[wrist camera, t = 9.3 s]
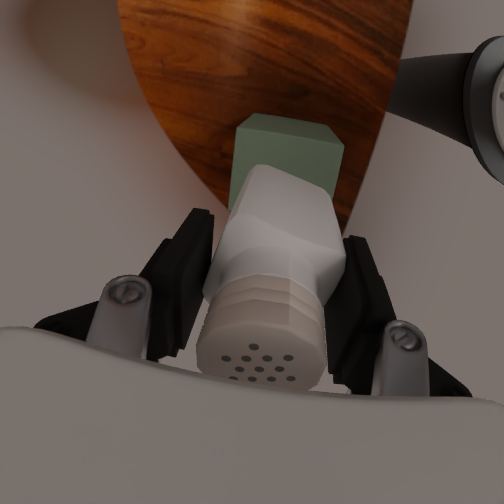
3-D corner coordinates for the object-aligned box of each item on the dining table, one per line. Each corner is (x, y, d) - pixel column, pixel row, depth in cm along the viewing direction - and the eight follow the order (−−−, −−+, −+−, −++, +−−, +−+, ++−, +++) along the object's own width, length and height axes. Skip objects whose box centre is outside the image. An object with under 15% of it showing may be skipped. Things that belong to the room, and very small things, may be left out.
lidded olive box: (327, 125, 26) (344, 145, 18) (316, 183, 30) (325, 227, 21) (254, 112, 27) (236, 127, 18) (246, 171, 30) (227, 210, 22)
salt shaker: (227, 226, 16) (166, 381, 8) (255, 156, 14) (199, 280, 6) (298, 254, 16) (295, 419, 8) (333, 189, 14) (377, 342, 6)
